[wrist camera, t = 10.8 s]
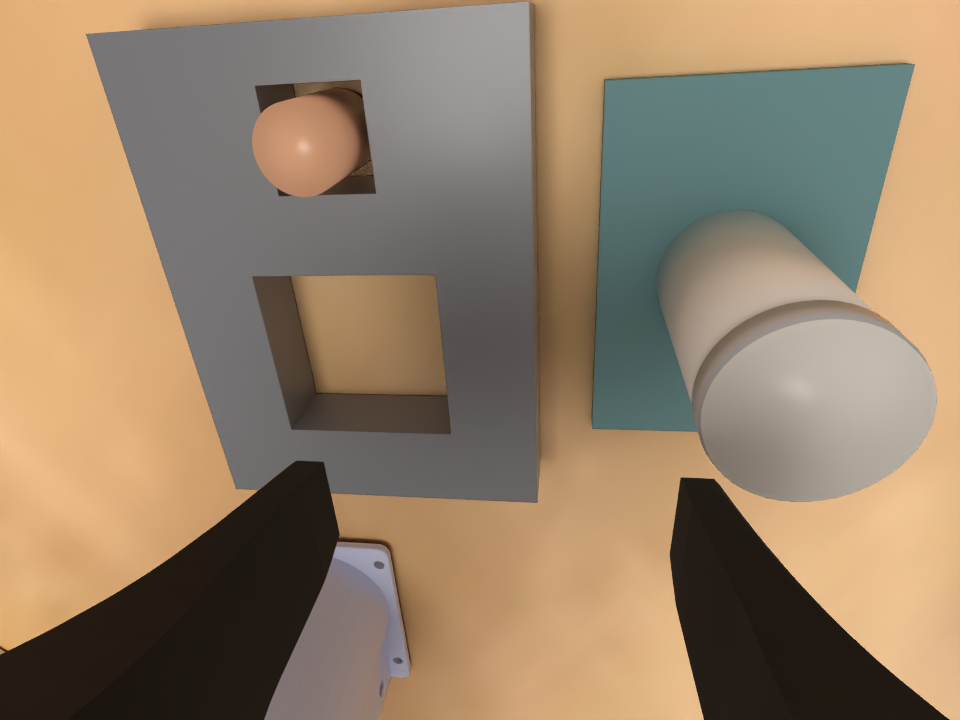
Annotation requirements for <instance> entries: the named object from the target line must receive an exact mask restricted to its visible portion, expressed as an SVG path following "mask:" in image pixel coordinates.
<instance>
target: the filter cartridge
mask: <svg viewBox="0 0 960 720" xmlns="http://www.w3.org/2000/svg"><path fill="white" fill-rule="evenodd" d="M656 291H657V296H658V300H659V303H660V306H661V309H662V313H663V316H664V319H665V322H666V325H667V328H668V331H669V335H670V338H671V341H672V344H673V347H674V350H675V353H676V356H677V360H678V363H679V366H680V369H681V372H682V375H683V378H684V382H685V385H686V388H687V391H688V394H689V397H690V400H691V404H692V412H693V416H694V420H695V424H696V427H697V430H698V433H699V436H700V440H701V443H702V445H703V448H704V450H705V452H706V454H707V456H708V457H709V458H710V460H711V461H712V463H713V464H714V465H715V466H716V468H717V469H718V470H719V471H720V472H721V473H722V474H723V475H724V476H725V477H726V478H727V479H729V480H730V481H731V482H732V483H734V484H736V485H737V486H739V487H741V488H742V489H744V490H746V491H749V492H751V493H753V494H756V495H759V496H762V497H765V498H770V499H775V500H780V501H790V502H811V501H822V500H827V499H833V498H837V497H841V496H844V495H848V494H851V493H854V492H857V491H859V490H862V489H864V488H866V487H868V486H870V485H873V484H875V483H877V482H878V481H880V480H882V479H883V478H885V477H887V476H888V475H890V474H891V473H892V472H894V471H895V470H896V469H898V468H899V467H900V466H901V465H902V464H904V463H905V462H906V461H907V460H908V459H909V458H910V457H911V456H912V455H913V453H914V452H915V451H916V450H917V449H918V448H919V446H920V445H921V443H922V442H923V440H924V439H925V437H926V436H927V433H928V431H929V429H930V427H931V425H932V422H933V419H934V415H935V411H936V403H937V395H936V386H935V382H934V378H933V375H932V373H931V370H930V368H929V366H928V364H927V362H926V360H925V358H924V357H923V355H922V354H921V352H920V351H919V350H918V348H917V347H915V346H914V345H913V344H912V343H911V342H910V341H909V340H908V339H907V338H906V337H905V336H904V335H903V334H902V333H901V332H900V331H899V330H897V329H896V328H895V327H894V326H893V325H892V324H891V323H890V322H889V321H887V320H886V319H885V318H883V317H882V316H880V315H879V314H877V313H875V312H874V311H873V310H872V309H871V308H870V307H869V306H868V305H867V304H866V303H865V302H864V301H863V300H862V299H861V298H859V297H858V296H857V295H856V294H855V293H854V292H853V291H852V290H851V289H850V288H849V287H848V286H847V285H846V284H845V283H844V282H843V281H841V280H840V279H839V278H838V277H837V276H836V275H835V274H834V273H833V272H832V271H831V270H830V269H829V268H828V267H827V266H826V265H825V264H823V263H822V262H821V261H820V260H819V259H818V258H817V257H816V256H815V255H814V254H813V253H812V252H811V251H810V250H809V249H808V248H807V247H806V246H804V245H803V244H802V243H801V242H800V241H799V240H798V239H797V238H796V237H795V236H794V235H793V234H792V233H791V232H790V231H789V230H788V229H786V228H785V227H784V226H783V225H782V224H781V223H780V222H778V221H777V220H775V219H774V218H772V217H770V216H768V215H765V214H762V213H759V212H755V211H750V210H727V211H722V212H717V213H714V214H711V215H708V216H706V217H703V218H701V219H699V220H697V221H696V222H694V223H692V224H691V225H689V226H688V227H687V228H685V229H684V230H683V231H681V232H680V233H679V234H678V235H677V236H676V237H675V238H674V240H673V241H672V242H671V243H670V244H669V246H668V247H667V249H666V251H665V252H664V254H663V256H662V258H661V261H660V263H659V267H658V270H657V276H656Z"/></svg>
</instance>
